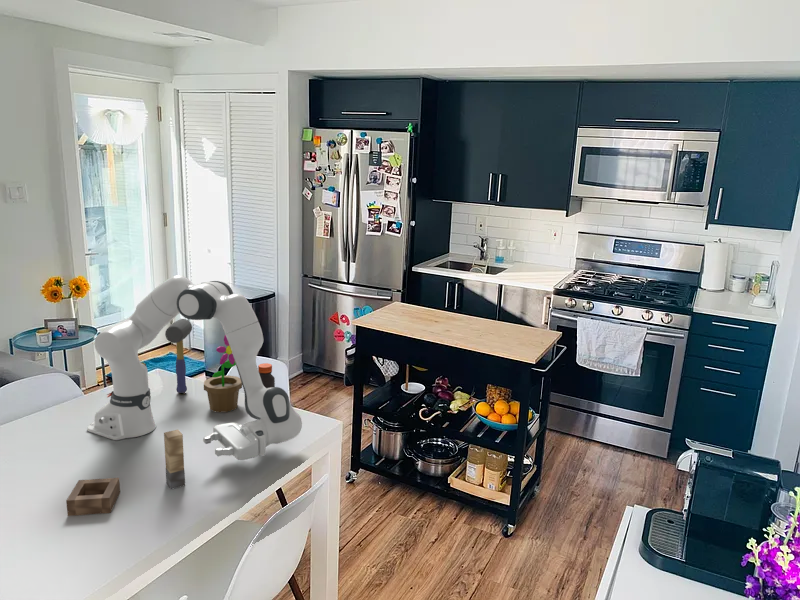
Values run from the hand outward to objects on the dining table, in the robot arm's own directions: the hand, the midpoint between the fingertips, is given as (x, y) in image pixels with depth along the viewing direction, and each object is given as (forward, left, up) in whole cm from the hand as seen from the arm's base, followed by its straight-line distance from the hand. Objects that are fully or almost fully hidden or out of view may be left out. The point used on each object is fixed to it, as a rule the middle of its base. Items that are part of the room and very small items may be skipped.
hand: (209, 446), depth 181 cm
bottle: (-5, +43, -9) cm, 45 cm away
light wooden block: (-6, -9, -9) cm, 14 cm away
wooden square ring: (-20, -25, -9) cm, 33 cm away
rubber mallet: (-47, +51, -9) cm, 70 cm away
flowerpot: (-24, +45, -9) cm, 52 cm away
